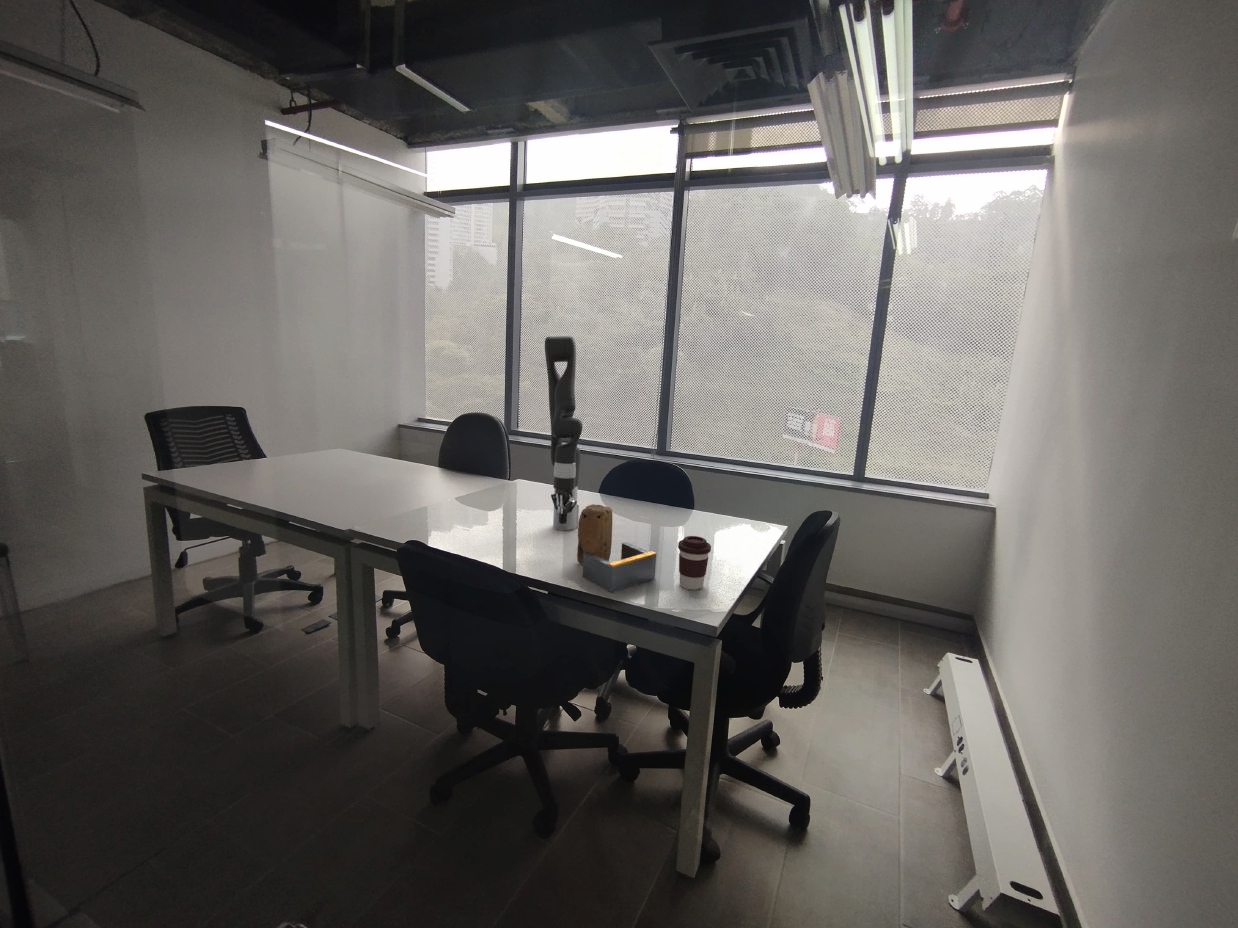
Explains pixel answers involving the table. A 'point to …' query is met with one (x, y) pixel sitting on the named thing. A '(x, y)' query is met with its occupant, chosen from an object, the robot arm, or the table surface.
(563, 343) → the robot arm
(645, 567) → the dock
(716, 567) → the table surface
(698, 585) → the coffee cup
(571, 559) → the table surface
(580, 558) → the block
